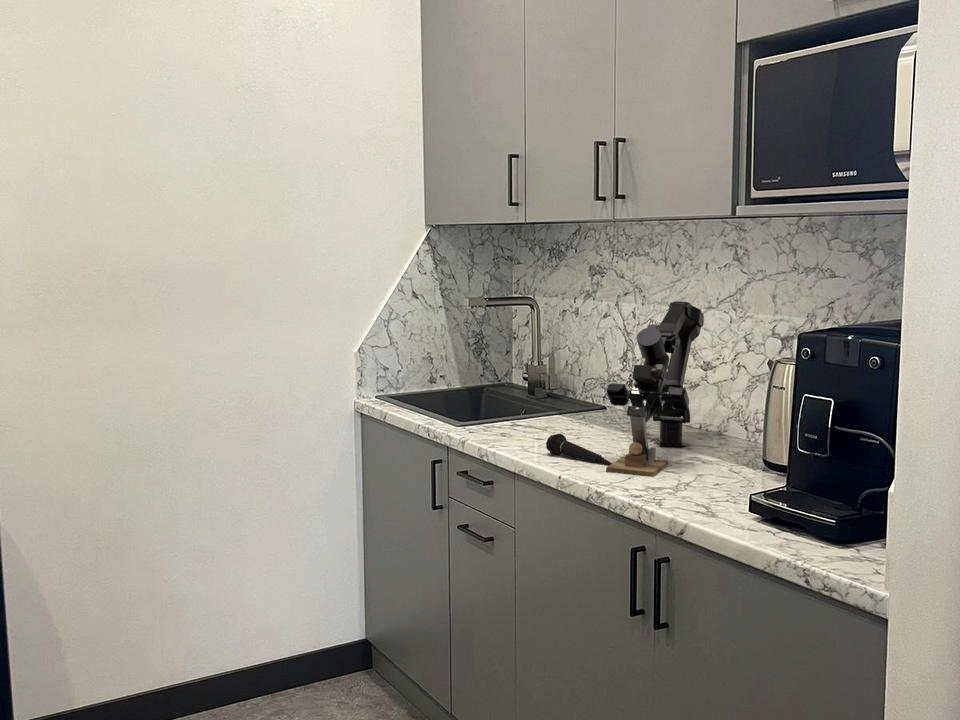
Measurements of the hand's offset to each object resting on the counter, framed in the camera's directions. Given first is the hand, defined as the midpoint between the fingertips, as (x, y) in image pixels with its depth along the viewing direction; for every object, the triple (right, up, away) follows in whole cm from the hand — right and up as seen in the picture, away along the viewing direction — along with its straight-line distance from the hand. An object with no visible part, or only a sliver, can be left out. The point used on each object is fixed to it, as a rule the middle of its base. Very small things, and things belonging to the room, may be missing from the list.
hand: (639, 425), depth 225 cm
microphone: (-14, -9, +9) cm, 19 cm away
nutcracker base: (0, -10, 0) cm, 10 cm away
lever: (+1, -7, +3) cm, 8 cm away
